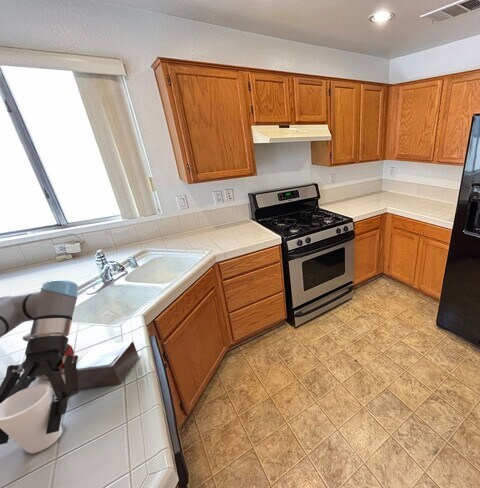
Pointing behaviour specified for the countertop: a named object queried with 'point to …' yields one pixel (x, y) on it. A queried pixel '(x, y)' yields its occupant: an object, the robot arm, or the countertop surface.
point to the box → (106, 365)
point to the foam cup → (29, 418)
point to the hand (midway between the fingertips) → (26, 438)
